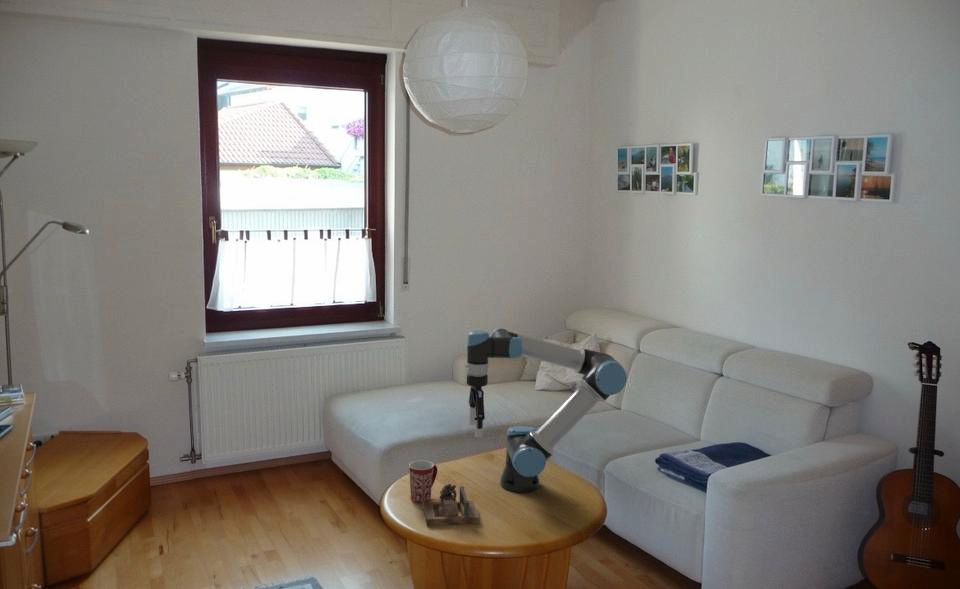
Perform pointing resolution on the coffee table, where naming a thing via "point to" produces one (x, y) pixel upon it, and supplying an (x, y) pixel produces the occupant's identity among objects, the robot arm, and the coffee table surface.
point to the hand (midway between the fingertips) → (475, 430)
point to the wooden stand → (467, 516)
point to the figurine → (448, 502)
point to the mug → (421, 480)
